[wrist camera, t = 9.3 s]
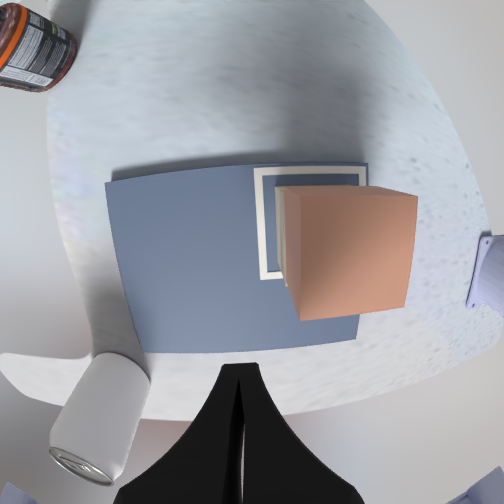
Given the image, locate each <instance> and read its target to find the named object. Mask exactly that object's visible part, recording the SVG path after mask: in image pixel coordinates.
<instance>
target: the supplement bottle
mask: <svg viewBox="0 0 504 504" xmlns="http://www.w3.org/2000/svg"><path fill="white" fill-rule="evenodd" d="M75 52H76V41H75V39H74V37H73V35H72V34H70V33H69V32H68V31H66V30H65V29H63V28H61V27H60V26H58V25H56V24H55V23H53V22H51V21H49V20H48V19H46V18H44V17H42V16H41V15H39V14H37V13H35V12H33V11H31V10H29V9H28V8H26V7H24V6H22V5H19V4H17V3H7V4H4V5H2V6H0V86H4V87H10V88H15V89H21V90H25V91H30V92H43V91H47V90H48V89H50V88H52V87H53V86H54V85H56V84H57V83H58V82H59V81H60V80H61V79H62V78H63V76H64V75H65V74H66V72H67V71H68V69H69V68H70V66H71V64H72V62H73V59H74V57H75Z"/></svg>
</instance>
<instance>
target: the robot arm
mask: <svg viewBox="0 0 504 504" xmlns="http://www.w3.org/2000/svg"><path fill="white" fill-rule="evenodd" d="M486 304H487V305H488V306H489V307H491V308H492V309H493V310H495V311H496V312H497V313H498V314H500V315H501V316H502V317H504V235H498V236H497V235H496V236H483V237H482V238H481V239H480V244H479V250H478V256H477V262H476V267H475V272H474V276H473V281H472V285H471V289H470V293H469V297H468V301H467V304H466V308H467V309H468V310H470V309H474V308H477V307H480V306H483V305H486ZM244 424H245V428H244ZM244 433H245V434H244ZM243 434H244V435H245V436H244V479H243V501H242V491H241V490H242V489H241V458H242V446H243ZM0 504H39V503H38V502H37V501H36V500H34V499H33V498H32V497H30V496H29V495H27V494H26V493H24V492H23V491H21V490H20V489H18V488H17V487H15V486H13V485H12V484H11V483H9V482H7V483H6V485H5V488H4V490H3V492H2V494H1V497H0ZM113 504H365V503H364V501H363V499H362V498H361V496H360V494H359V493H358V492H357V490H356V489H355V487H354V486H352V485H351V484H349V483H348V482H346V481H345V480H344V479H342V478H341V477H339V476H338V475H337V474H335V473H334V472H333V471H332V470H331V469H329V468H328V467H327V466H326V465H325V464H323V463H322V462H321V461H320V460H319V459H318V458H317V457H316V456H315V455H314V454H313V453H312V452H311V451H310V450H309V449H308V448H307V447H306V446H305V445H304V444H303V443H302V442H301V440H300V439H299V438H298V437H297V436H296V434H295V433H294V432H293V431H292V429H291V428H290V427H289V426H288V424H287V423H286V422H285V420H284V418H283V417H282V415H281V414H280V412H279V411H278V409H277V407H276V406H275V404H274V402H273V400H272V398H271V397H270V395H269V393H268V391H267V389H266V386H265V384H264V382H263V379H262V376H261V373H260V370H259V364H257V363H256V362H254V363H237V364H224V365H223V366H222V367H221V370H220V373H219V376H218V378H217V380H216V382H215V384H214V387H213V389H212V391H211V392H210V394H209V396H208V398H207V400H206V402H205V403H204V405H203V407H202V408H201V410H200V411H199V413H198V414H197V416H196V418H195V419H194V421H193V422H192V423H191V425H190V426H189V428H188V429H187V430H186V431H185V433H184V434H183V435H182V436H181V437H180V439H179V440H178V441H177V442H176V443H175V444H174V445H173V446H172V447H171V449H170V450H169V451H168V452H167V453H166V454H165V455H164V456H162V457H161V458H160V459H159V460H158V461H157V462H156V463H154V464H153V465H152V466H151V467H150V468H148V469H147V470H146V471H145V472H143V473H142V474H141V475H140V476H138V477H136V478H135V479H134V480H132V481H131V482H129V483H127V484H126V485H124V486H123V487H121V488H120V489H119V491H118V493H117V495H116V498H115V500H114V503H113ZM446 504H504V472H503V471H502V469H501V467H500V466H498V467H497V468H495V469H494V470H493V471H491V472H490V473H489V474H487V475H486V476H485V477H483V478H482V479H480V480H479V481H478V482H477V483H475V484H474V485H473V486H471V487H470V488H469V489H468V490H467V491H466V492H464V493H463V494H461V495H460V496H458V497H456V498H455V499H453V500H451V501H449V502H448V503H446Z"/></svg>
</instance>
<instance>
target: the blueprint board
mask: <svg viewBox="0 0 504 504" xmlns="http://www.w3.org/2000/svg"><path fill="white" fill-rule="evenodd" d="M300 185H352V186H368V163H354V162H292V163H266V164H248V165H234V166H222V167H211V168H201V169H192V170H183V171H175V172H168V173H160V174H153V175H147V176H140V177H134V178H128V179H123V180H117V181H112V182H106V183H105V190H106V198H107V206H108V213H109V219H110V225H111V231H112V237H113V242H114V247H115V252H116V257H117V262H118V266H119V271H120V275H121V279H122V283H123V287H124V291H125V295H126V299H127V303H128V306H129V310H130V313H131V317H132V320H133V324H134V327H135V330H136V333H137V336H138V340H139V343H140V346H141V349H142V352H148V353H223V352H244V351H260V350H273V349H284V348H294V347H303V346H311V345H319V344H327V343H334V342H341V341H347V340H353V339H356V336H357V329H358V323H359V316H360V314H356V315H349V316H341V317H333V318H324V319H315V320H305V321H299V318H298V315H297V312H296V309H295V306H294V303H293V300H292V297H291V294H290V291H289V288H288V286H286V284H285V281H284V278H283V275H282V272H281V269H280V266H279V263H278V254H277V228H276V205H275V187H276V186H300Z"/></svg>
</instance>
